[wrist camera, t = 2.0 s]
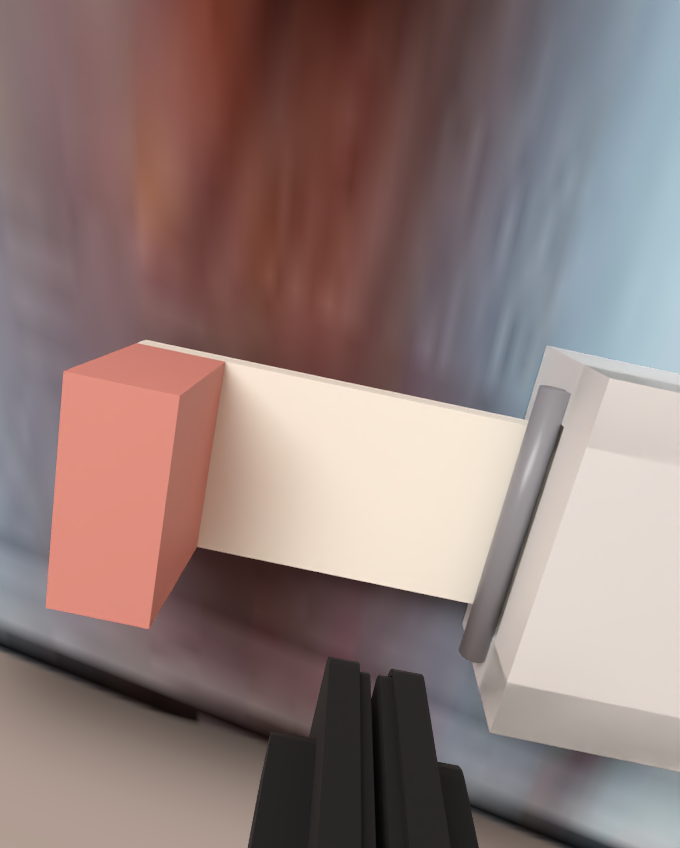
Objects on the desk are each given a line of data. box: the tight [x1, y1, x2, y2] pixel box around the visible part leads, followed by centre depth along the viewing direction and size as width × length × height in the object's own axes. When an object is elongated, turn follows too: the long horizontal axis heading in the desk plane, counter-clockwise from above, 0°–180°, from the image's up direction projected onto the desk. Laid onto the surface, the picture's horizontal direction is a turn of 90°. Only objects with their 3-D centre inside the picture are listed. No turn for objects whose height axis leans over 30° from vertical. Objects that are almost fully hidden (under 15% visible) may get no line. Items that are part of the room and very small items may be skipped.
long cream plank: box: [46, 340, 564, 629], centre depth 19 cm, size 26×7×6 cm, turn 78°
